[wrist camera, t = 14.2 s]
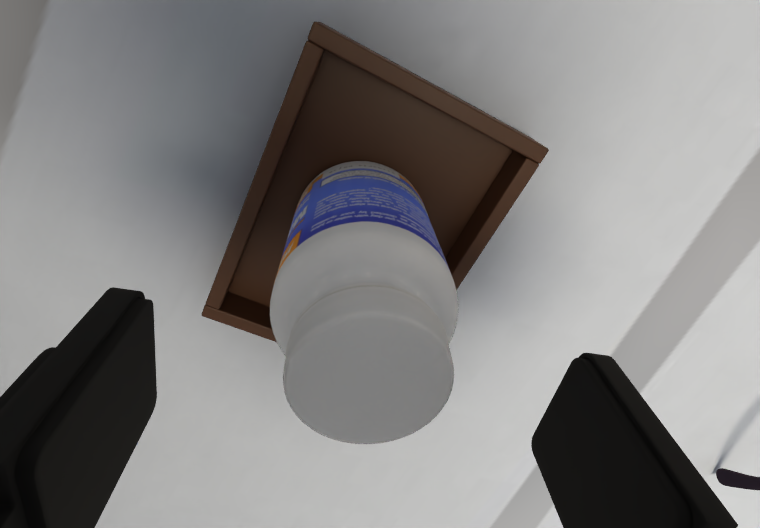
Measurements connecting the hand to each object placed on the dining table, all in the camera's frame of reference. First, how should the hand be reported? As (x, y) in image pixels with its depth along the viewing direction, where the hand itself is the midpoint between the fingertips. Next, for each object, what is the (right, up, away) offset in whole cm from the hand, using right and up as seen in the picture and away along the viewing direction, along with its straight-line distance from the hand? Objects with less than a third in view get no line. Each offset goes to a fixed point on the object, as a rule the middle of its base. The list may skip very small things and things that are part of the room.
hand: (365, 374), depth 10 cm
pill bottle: (0, +4, +9) cm, 10 cm away
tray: (0, +4, +9) cm, 10 cm away
